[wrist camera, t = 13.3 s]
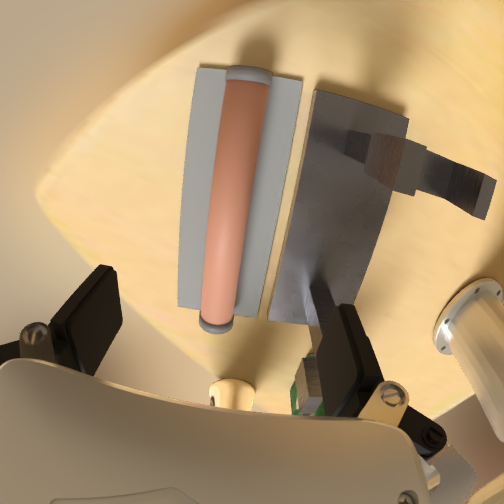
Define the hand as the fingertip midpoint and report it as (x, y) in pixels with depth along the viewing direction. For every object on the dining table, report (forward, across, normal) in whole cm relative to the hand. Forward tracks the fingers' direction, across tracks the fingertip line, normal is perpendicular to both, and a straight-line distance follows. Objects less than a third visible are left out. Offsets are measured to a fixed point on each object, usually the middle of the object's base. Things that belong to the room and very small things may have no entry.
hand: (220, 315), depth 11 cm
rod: (+11, +1, 0) cm, 11 cm away
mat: (+13, +1, 0) cm, 13 cm away
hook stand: (+14, -8, 0) cm, 16 cm away
